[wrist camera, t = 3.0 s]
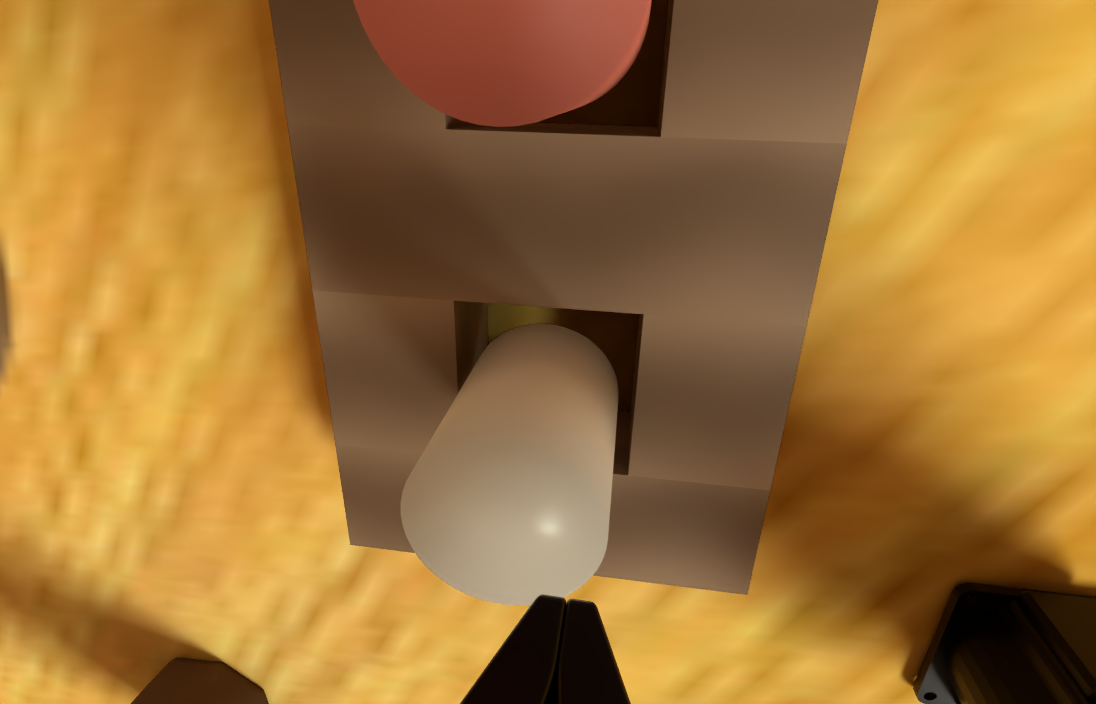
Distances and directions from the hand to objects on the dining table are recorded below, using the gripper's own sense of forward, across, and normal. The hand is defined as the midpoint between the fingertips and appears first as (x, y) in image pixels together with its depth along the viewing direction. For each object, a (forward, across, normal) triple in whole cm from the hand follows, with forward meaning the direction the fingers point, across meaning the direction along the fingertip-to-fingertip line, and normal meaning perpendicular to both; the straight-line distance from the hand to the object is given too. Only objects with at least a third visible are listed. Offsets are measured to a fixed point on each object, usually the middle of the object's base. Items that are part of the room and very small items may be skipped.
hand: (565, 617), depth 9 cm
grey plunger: (+9, +2, +1) cm, 9 cm away
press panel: (+13, +2, -4) cm, 14 cm away
